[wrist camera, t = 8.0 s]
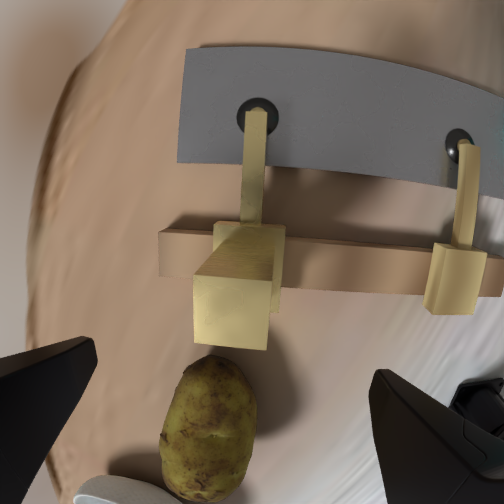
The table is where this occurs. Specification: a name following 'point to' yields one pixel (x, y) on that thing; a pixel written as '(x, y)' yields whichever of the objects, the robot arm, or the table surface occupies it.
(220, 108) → the hole plate
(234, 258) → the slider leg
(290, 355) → the table surface
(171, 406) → the potato
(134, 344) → the table surface
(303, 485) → the table surface
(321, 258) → the rail
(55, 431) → the robot arm
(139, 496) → the cereal bowl
